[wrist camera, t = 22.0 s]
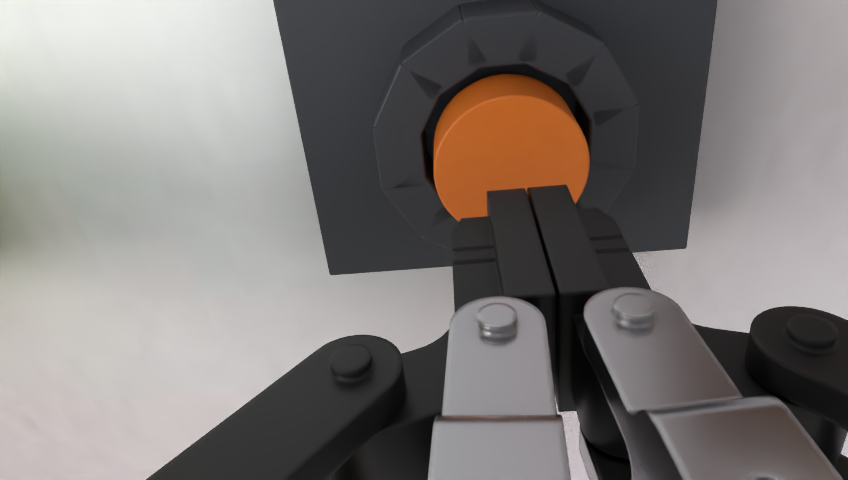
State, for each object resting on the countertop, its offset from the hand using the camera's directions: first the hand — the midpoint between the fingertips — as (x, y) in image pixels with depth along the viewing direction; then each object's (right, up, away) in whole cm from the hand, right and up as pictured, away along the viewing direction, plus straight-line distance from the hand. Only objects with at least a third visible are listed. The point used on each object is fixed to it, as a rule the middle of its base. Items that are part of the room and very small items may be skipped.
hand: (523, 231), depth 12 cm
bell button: (0, +2, +4) cm, 5 cm away
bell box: (0, +4, +7) cm, 8 cm away
